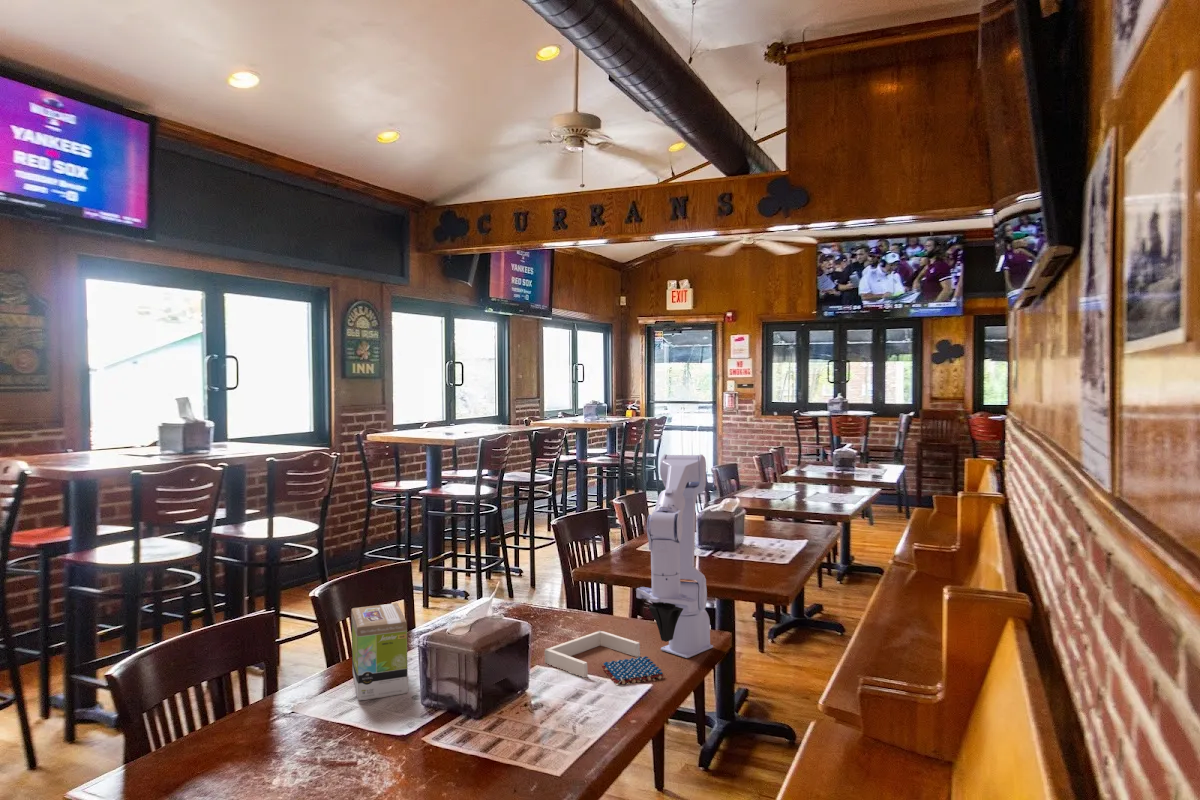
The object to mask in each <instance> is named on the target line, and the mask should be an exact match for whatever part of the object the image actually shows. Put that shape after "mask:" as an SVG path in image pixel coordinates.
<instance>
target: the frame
mask: <svg viewBox="0 0 1200 800" xmlns="http://www.w3.org/2000/svg"><path fill="white" fill-rule="evenodd" d="M600 646H601V647H605V648H608V649H612V650H613V651H616V652H620V653H623V654H626V655H629V656H631V657H634V658H638V657H641V644H640V642H638V641H635V640H632V639H630V638H626V637H622V636H619V635H617V634H613V633H610V632H606V631H604V630H603V631H602V630H597V631H594V632H592V633H589V634H587V635H583V636H581V637H577V638H575V639H571V640H568V641H566V642H563V643H560V644H556V645H554V646H551V647H548V648H545V649H544V664H546V663H547V664H546V665H548V664H549V666H551V665H552V666H551V667H555V668H556V667H557V669H559V668H560V669H559V670H561V669H563V670H562V671H564V670H566V671H565V672H567V671H568V672H567V673H569V672H571V673H570V674H572V673H574V674H576V675H575V676H577V675H579V676H578V677H580V676H582V677H586V678H588V677H589V676H588V675H589V674H588V662H587V661H584V660H582V659H578V658H575V657H573V656H575V655H578V654H581V653H583V652H586V651H588V650H591V649H594V648H598V647H600ZM574 674H573V675H574ZM587 676H588V677H587ZM582 677H581V678H582Z"/></svg>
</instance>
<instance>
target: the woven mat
mask: <svg viewBox="0 0 1200 800" xmlns="http://www.w3.org/2000/svg"><path fill="white" fill-rule="evenodd" d="M601 668H602V669H603V672H604V673H606V675H608V676H609V678H610V680H611V681H613V683H614V684H615V683H616V684H618V685H620V684H621V685H623V684H625V683H626V684H627V683H628V684H627V685H631V683H632V684H635V683H641V681H642V682H643V681H644V682H646V681H648V682H650V681H656V679H658V680H661V679H662V677H664V673H663V671H662V669H661V668H659V666H656V663H654V661H651V658H649V657H648V656H642V657H641V656H639V657H631V658H629V659H627V658H625V659H622V660H621V659H619V660H612V661H605V662H604V663H603V665H601ZM655 678H656V679H655ZM631 681H632V682H631ZM616 684H615V685H616ZM626 684H625V685H626Z"/></svg>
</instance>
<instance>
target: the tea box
mask: <svg viewBox="0 0 1200 800" xmlns="http://www.w3.org/2000/svg"><path fill="white" fill-rule="evenodd" d="M350 617H351V618H350V619H351V657H352V658H351V659H352V660H351V661H352V663H351V664H352V676H353V677H352V678H353V680H354V687H355V692H356V696H357V700H358V701H367V700H373V699H379V698H386V697H391V696H399V695H402V694H408V691H409V689H408V688H409V684H408V682H409V681H408V680H409V679H408V676H409V675H408V674H409V673H408V667H409V666H408V626H407V625H408V623H407V620H406V618H405V615H404V613H403V612H402V609H401V607H400V606H399V603H397V602H394V603H387V604H378V605H377V604H376V605H369V606H368V605H367V606H361V607H353V608H351V616H350Z"/></svg>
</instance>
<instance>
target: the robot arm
mask: <svg viewBox="0 0 1200 800" xmlns="http://www.w3.org/2000/svg"><path fill="white" fill-rule="evenodd" d="M659 472H660V473H659V474H660V479H661V480H662V483H663V487H664V488H665V489H664V490H662V491H661V492H660V493H659V495H658V497H657V500H656V502H655V503H656V504H655V507H654V511H653V512H652V513H651V514H648V516H647V520H646V534H647V540H648V549H649V551H650V570H651V571H650V572H651V573H650V574H651V575H650V576H651V580H650V581H651V587H645V586H640V587H637V588H635V591H636V592H635V593H636V598H637V599H644V600H645V599H646V600H648V601H650V602H653V603H652V604H649V606H648V610H649V612H650V613H651V614H652V617H653V619H654V621H655V624H656V626H657V630H658V632H659V636H660V640H661V641H662V642H668V644H667V645H664V646H662V647H660V651H663V652H666V653H670V654H672V655H676V656H679V657H682V658H686V659H689V658H691V657H694V656H696V655H698V654H701V653H704V652H705V651H706V652H707V651H708V650H710V649H712V648H714V645H713V644H711V627H710V626H711V625H710V624H711V621H710V616H709V613H708V612H707V610H706V607H707V601H708V599H707V598H708V592H707V591H708V589H707V579H706V576H705V574H704V573H703V572H701V571H700V570H699V569H697V568H696V567H695V545H696V544H695V542H696V541H695V537H696V534H695V533H696V503H697V499H698V495H700V494H701V493H703V492H705V491H706V490H705V489H706V487H707V485H706V482H707V481H706V480H707V461H706V458H705V456H704V454H666V453H664V454H663V455H662V456H661V458H660V465H659ZM681 580H688V581H681ZM690 580H691V581H690Z"/></svg>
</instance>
